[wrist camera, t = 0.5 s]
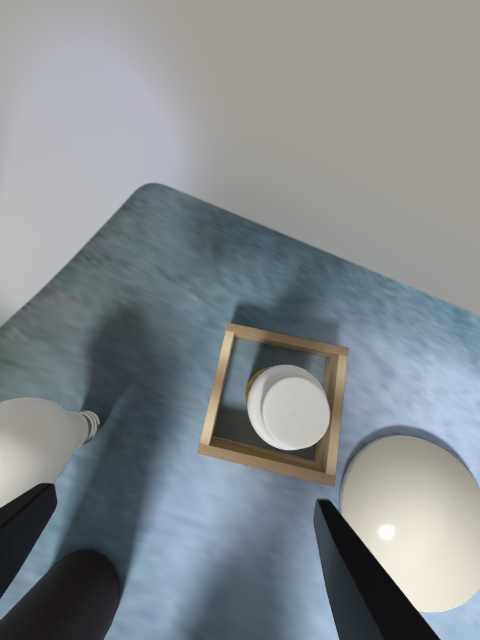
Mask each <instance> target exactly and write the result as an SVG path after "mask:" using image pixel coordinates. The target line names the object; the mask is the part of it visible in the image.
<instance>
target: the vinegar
mask: <svg viewBox="0 0 480 640" xmlns="http://www.w3.org/2000/svg"><path fill="white" fill-rule="evenodd" d="M118 599H119V584H118V577H117V574H116V572H115V570H114V568H113V566H112V563H111V562H110V561H109V560H108V559H107V558H106V557H105V556H104V555H103V554H100V553H98V552H95V551H93V550H79V551H76V552H73V553H71V554H68V555H66V556H65V557H64V558H62V559H61V560H60V561H59V562H57V563H56V564H55V565H54V566H53V567H52V568H51V569H50V570H49V571H48V572H47V573H46V574H45V575H44V576H43V577H42V578H41V579H40V580H39V581H38V582H37V583H36V584H35V585H34V586H33V587H32V588H31V589H30V590H29V592H28V593H27V594H26V595H25V596H24V597H23V598H22V599H21V600H20V601H19V602H18V603H17V604H16V605H15V606H14V607H13V608H12V609H11V610H10V611H9V612H8V613H7V614H6V615H5V616H4V617H3V618H2V619H1V620H0V640H104V638H105V636H106V634H107V632H108V630H109V628H110V626H111V624H112V621H113V619H114V616H115V613H116V610H117V607H118Z"/></svg>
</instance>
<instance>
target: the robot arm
mask: <svg viewBox="0 0 480 640" xmlns="http://www.w3.org/2000/svg"><path fill="white" fill-rule="evenodd" d="M56 506H57V496H56V490H55V485H54V484H53V483H40V484H38V485H36V486H34V487H33V488H31V489H29V490H28V491H26V492H25V493H23V494H21V495H20V496H18V497H17V498H15V499H13V500H12V501H10V502H9V503H7V504H5V505H4V506H2V507H1V508H0V598H1V597H2V596H3V594H4V593H5V591H6V590H7V588H8V587H9V585H10V584H11V582H12V581H13V579H14V578H15V576H16V575H17V573H18V572H19V570H20V568H21V567H22V565H23V563H24V562H25V560H26V558H27V557H28V555H29V553H30V552H31V550H32V548H33V547H34V545H35V543H36V541H37V540H38V538H39V536H40V535H41V533H42V531H43V530H44V528H45V526H46V525H47V523H48V521H49V519H50V518H51V516H52V514H53V513H54V511H55V509H56ZM314 528H315V533H316V539H317V544H318V549H319V554H320V560H321V565H322V570H323V576H324V581H325V586H326V591H327V595H328V599H329V603H330V607H331V610H332V614H333V618H334V621H335V625H336V629H337V633H338V636H339V640H440V638H439V637H438V636H437V635H436V633H435V632H434V631H433V630H432V628H431V627H430V626H429V624H428V623H427V622H426V621H425V619H424V618H423V617H422V616H421V614H420V613H419V612H418V611H417V609H416V608H415V607H414V606H413V604H412V603H411V602H410V601H409V599H408V598H407V597H406V595H405V594H404V593H403V592H402V590H401V589H400V588H399V587H398V585H397V584H396V583H395V582H394V580H393V579H392V578H391V577H390V575H389V574H388V573H387V572H386V570H385V569H384V568H383V567H382V565H381V564H380V563H379V561H378V560H377V559H376V558H375V556H374V555H373V554H372V553H371V551H370V550H369V549H368V548H367V546H366V545H365V544H364V543H363V541H362V540H361V539H360V538H359V536H358V535H357V534H356V533H355V531H354V530H353V529H352V527H351V526H350V525H349V524H348V522H347V521H346V520H345V519H344V517H343V516H342V515H341V514H340V512H339V511H338V510H337V509H336V507H335V506H334V505H333V504H332V502H331V501H330V500H328V499H317V500H316V504H315V511H314Z"/></svg>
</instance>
